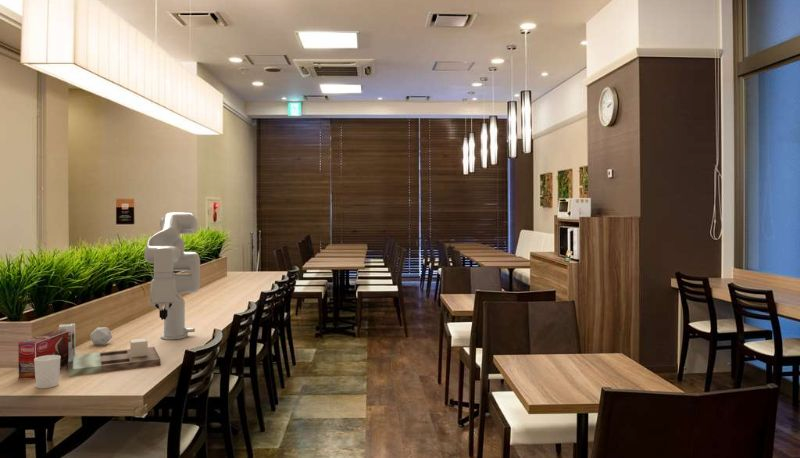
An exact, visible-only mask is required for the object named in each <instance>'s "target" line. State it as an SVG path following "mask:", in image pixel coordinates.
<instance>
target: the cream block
mask: <svg viewBox="0 0 800 458" xmlns="http://www.w3.org/2000/svg"><path fill="white" fill-rule="evenodd" d="M129 343H130V345H129V346H130V348H129V349H130V354H131V357H138V356H147V355H148V344H149V343H148V339H147V337H146V338H134V339H130V342H129Z"/></svg>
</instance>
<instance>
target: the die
mask: <svg viewBox="0 0 800 458" xmlns="http://www.w3.org/2000/svg"><path fill="white" fill-rule="evenodd" d="M89 337H90V339H91V342H92V343H93V345H94V346H106V345H107V343H108V342H109V341H110V340H112V338H113V335H112V332H111V331H110V328H109V327H107V326H104V327H96V328H95V329H94V330H93V331H92V332H91V333H90V334H89Z"/></svg>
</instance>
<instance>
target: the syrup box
mask: <svg viewBox="0 0 800 458" xmlns="http://www.w3.org/2000/svg"><path fill="white" fill-rule="evenodd" d="M58 331H68V338H69V349H70V348H74V355H76V323H66V324H59V326H58Z"/></svg>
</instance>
